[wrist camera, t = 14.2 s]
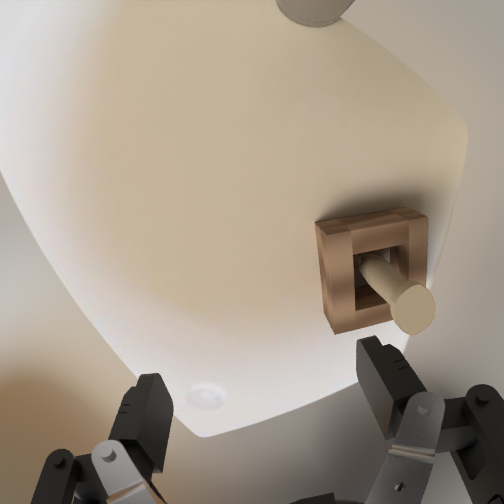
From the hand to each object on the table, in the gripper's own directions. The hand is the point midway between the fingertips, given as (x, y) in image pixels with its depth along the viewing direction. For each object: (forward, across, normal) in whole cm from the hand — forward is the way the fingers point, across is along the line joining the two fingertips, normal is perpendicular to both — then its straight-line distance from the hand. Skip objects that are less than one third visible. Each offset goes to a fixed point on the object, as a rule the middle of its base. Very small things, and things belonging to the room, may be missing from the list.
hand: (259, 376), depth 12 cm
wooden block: (+30, -16, +10) cm, 36 cm away
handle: (+30, -16, +10) cm, 36 cm away
